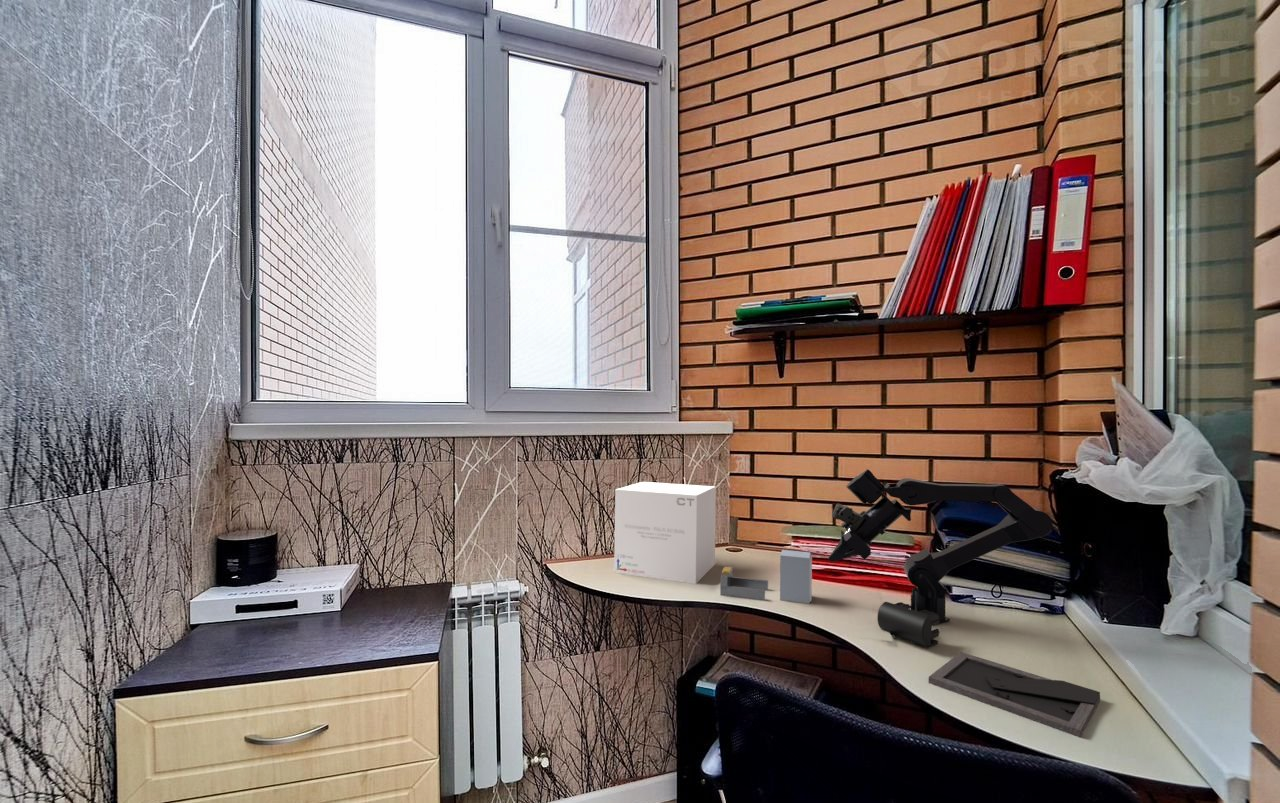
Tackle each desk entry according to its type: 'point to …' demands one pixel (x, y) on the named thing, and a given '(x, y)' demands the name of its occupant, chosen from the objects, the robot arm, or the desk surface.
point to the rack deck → (742, 586)
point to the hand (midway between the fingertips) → (829, 560)
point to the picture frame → (1019, 692)
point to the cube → (665, 531)
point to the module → (795, 576)
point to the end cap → (909, 623)
